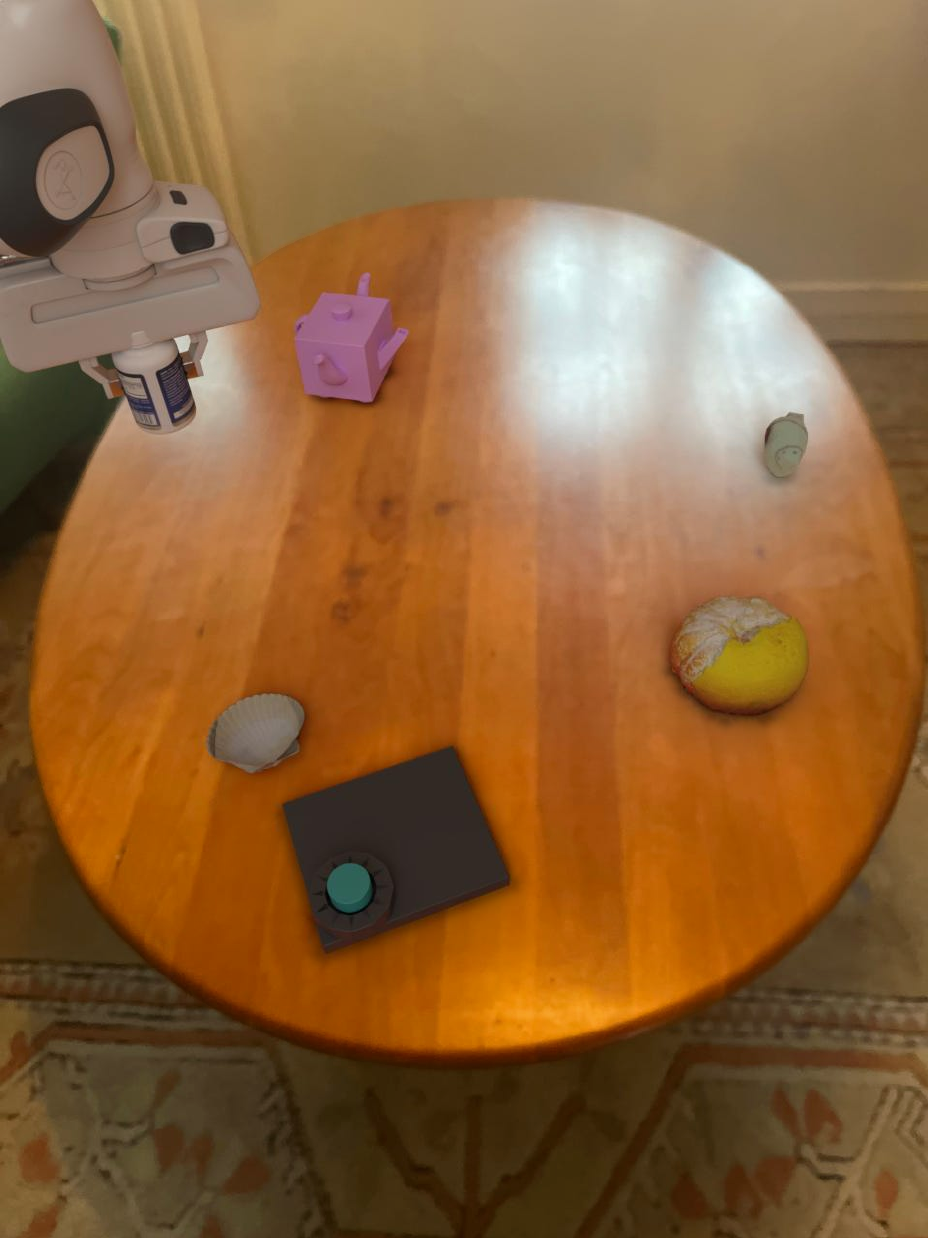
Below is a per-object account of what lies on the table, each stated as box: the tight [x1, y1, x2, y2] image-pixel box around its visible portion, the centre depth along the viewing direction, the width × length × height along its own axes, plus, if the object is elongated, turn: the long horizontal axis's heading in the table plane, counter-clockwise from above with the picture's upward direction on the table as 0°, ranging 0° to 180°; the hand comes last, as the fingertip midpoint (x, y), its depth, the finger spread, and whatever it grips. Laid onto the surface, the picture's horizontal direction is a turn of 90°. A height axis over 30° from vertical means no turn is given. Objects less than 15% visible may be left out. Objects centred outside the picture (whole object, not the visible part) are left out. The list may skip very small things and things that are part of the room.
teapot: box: [293, 272, 410, 403], centre depth 106 cm, size 18×13×10 cm
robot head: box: [763, 411, 809, 478], centre depth 94 cm, size 8×4×7 cm, turn 164°
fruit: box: [669, 594, 810, 717], centre depth 79 cm, size 11×10×8 cm
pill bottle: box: [111, 331, 197, 436], centre depth 80 cm, size 5×5×10 cm
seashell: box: [205, 692, 306, 774], centre depth 77 cm, size 8×3×8 cm
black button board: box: [281, 745, 511, 955], centre depth 71 cm, size 14×12×3 cm
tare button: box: [327, 863, 373, 913], centre depth 66 cm, size 3×3×2 cm
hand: (156, 383), depth 81 cm, fingers closed on pill bottle, 5 cm apart
